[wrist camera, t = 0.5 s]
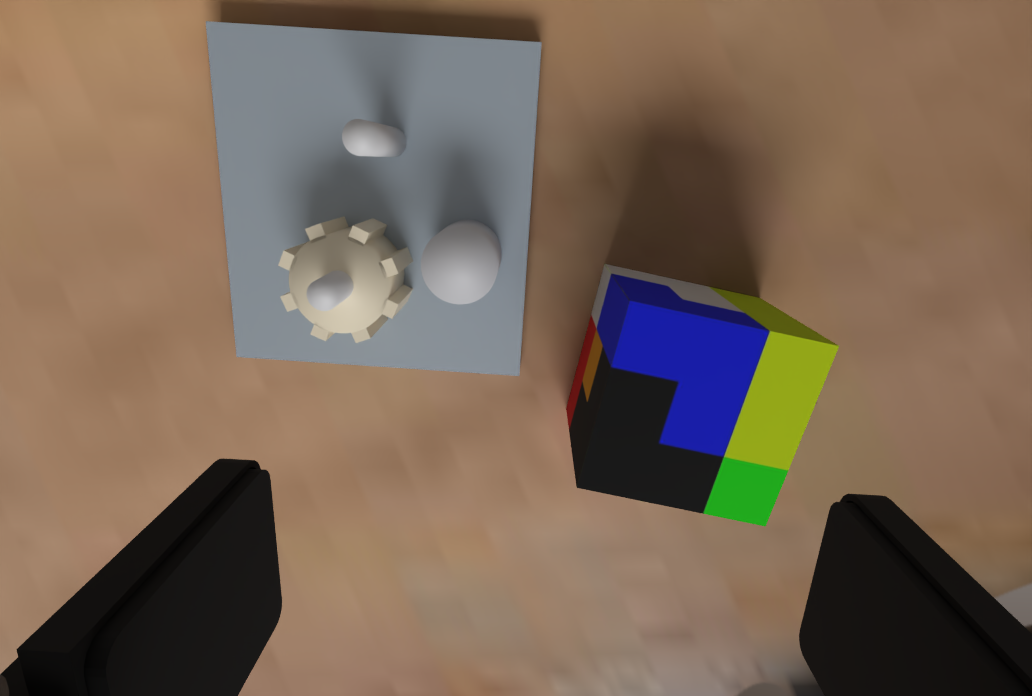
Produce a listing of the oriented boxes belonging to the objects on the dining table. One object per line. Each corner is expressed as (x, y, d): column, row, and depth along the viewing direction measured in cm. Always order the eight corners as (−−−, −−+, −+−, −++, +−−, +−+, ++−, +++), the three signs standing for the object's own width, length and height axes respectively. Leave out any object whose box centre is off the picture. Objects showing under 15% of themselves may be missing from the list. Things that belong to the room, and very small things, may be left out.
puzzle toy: (604, 263, 36) (629, 300, 27) (759, 297, 36) (839, 346, 27) (566, 408, 39) (576, 487, 30) (709, 438, 40) (765, 526, 30)
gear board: (220, 27, 33) (124, -14, 25) (541, 47, 32) (543, 12, 25) (247, 349, 38) (176, 396, 31) (519, 367, 38) (516, 419, 31)
